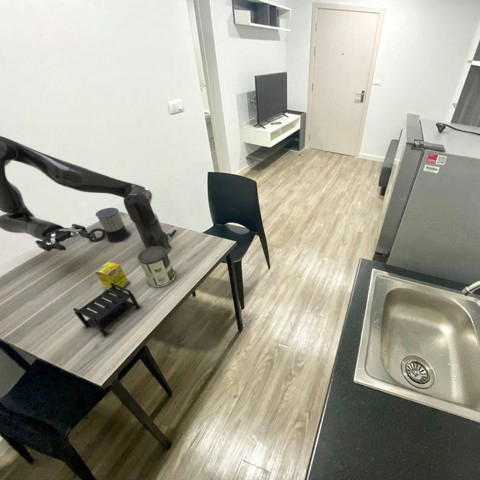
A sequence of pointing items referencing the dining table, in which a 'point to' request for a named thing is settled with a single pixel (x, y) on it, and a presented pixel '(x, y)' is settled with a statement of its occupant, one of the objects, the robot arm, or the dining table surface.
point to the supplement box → (112, 275)
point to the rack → (107, 308)
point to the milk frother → (110, 226)
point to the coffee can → (156, 266)
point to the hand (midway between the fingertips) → (76, 241)
